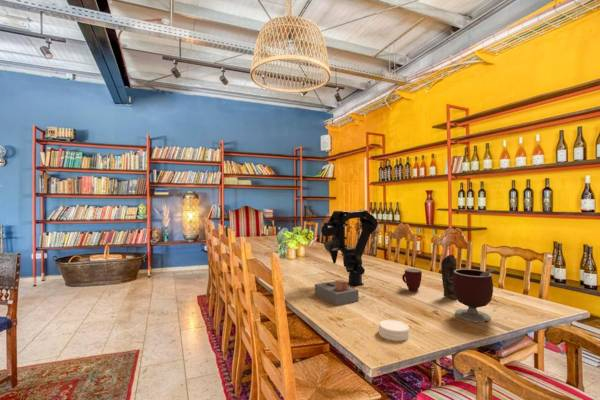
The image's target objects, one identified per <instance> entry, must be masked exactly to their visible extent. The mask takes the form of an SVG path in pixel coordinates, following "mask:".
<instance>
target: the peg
mask: <svg viewBox="0 0 600 400" xmlns="http://www.w3.org/2000/svg"><path fill="white" fill-rule="evenodd" d="M348 282H349V280H346V279H335V290H337V291H339V292H344V291H348V286H349V284H348Z"/></svg>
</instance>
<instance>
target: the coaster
mask: <svg viewBox="0 0 600 400" xmlns="http://www.w3.org/2000/svg"><path fill="white" fill-rule="evenodd" d="M378 334H379V336H380V337H381V338H383V339H385V340H389V341H393V342H394V341H395V342H403V341H406V340H408V339H409V337H410V326H409V325H408V324H407V323H406V322H403V321H400V320H397V319H384V320H382V321H380V322H379V323H378Z"/></svg>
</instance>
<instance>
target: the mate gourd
mask: <svg viewBox="0 0 600 400" xmlns="http://www.w3.org/2000/svg"><path fill="white" fill-rule="evenodd" d="M493 272H496V269H495V268H494V269H489V270H486V271H485V270H484V271H483V270H479V269H471V268H469V269H468V268H459V269H457V268H456V270H454V274H453V292H454V295H455V297H456V298H457V299H456V300H457V301H458V302H459V303H460V304H463V305H465V306H466V307H468V308H460V309H456V310H455V311H454V315H455V316H456V317H457V318H458V319H461V318H462V319H461V320H463V319H465V320H464V321H467V320H469V321H468V322H471V321H477V322H476V323H486V322H485V321H489V320H490V321H491V320H492V317H491V316H490V315H489V314H488V313H486V312H483V311H481V310H478V308H482V307H486V306H487V305H488V304H489V303H490V302H491V301H492V298H493V294H494V281H493V277H492V273H493ZM490 321H489V322H490Z"/></svg>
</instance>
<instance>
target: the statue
mask: <svg viewBox="0 0 600 400" xmlns="http://www.w3.org/2000/svg"><path fill="white" fill-rule="evenodd" d="M440 266H441V279H442V287H443V296H444V297H445V298H447V299H450V300H457V298H456V297H455V295H454V292H453V274H454V270H457V262H456V258H455V256H454V254H449V255H447V256H445V257H444V258H442V261H441V264H440Z"/></svg>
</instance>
